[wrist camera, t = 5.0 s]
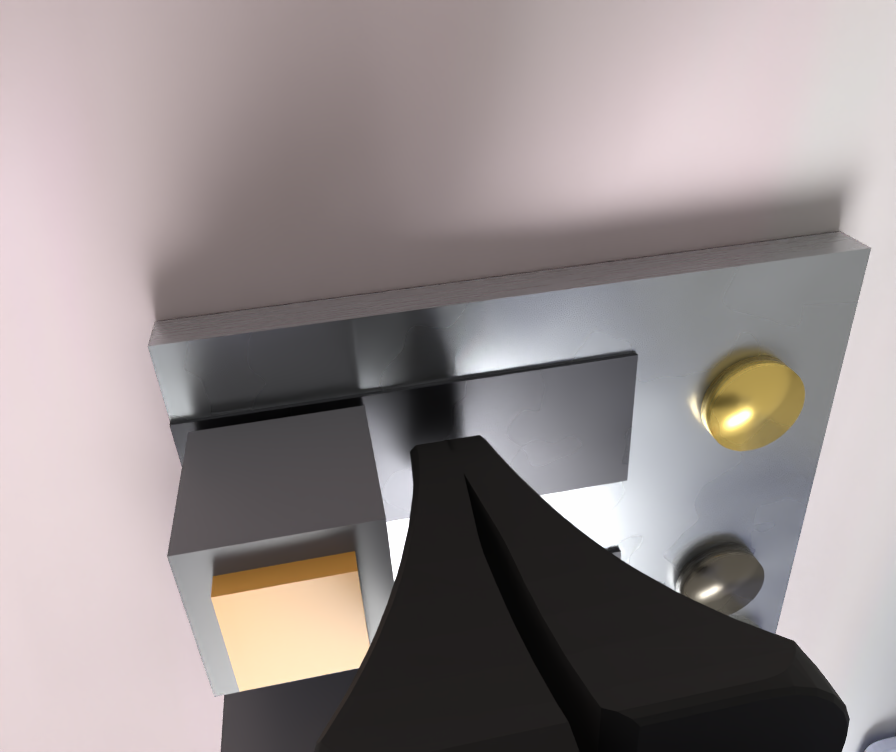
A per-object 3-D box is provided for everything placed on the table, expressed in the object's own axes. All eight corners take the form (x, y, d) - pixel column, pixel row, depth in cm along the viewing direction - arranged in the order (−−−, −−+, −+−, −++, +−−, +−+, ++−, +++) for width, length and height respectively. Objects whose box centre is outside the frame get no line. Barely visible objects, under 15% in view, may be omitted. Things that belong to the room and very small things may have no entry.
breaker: (375, 608, 16) (394, 738, 13) (388, 699, 17) (408, 832, 15) (228, 636, 15) (219, 775, 13) (255, 727, 17) (252, 867, 14)
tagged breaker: (364, 405, 13) (389, 538, 10) (381, 533, 15) (407, 680, 12) (187, 432, 13) (164, 577, 10) (224, 561, 14) (212, 719, 12)
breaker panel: (840, 231, 15) (908, 268, 13) (720, 769, 24) (752, 829, 23) (155, 321, 13) (138, 377, 12) (309, 865, 23) (312, 937, 21)
